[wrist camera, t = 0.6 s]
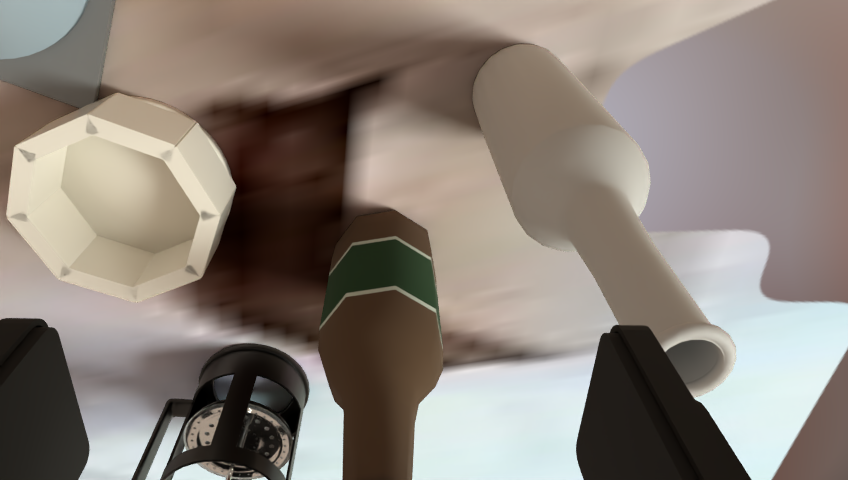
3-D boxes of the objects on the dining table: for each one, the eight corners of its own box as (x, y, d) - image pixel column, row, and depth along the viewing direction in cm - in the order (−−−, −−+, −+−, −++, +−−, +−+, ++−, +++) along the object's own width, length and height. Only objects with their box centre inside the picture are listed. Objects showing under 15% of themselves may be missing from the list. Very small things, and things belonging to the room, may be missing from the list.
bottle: (505, 24, 40) (676, 232, 16) (588, 73, 42) (858, 328, 17) (454, 112, 43) (530, 406, 18) (533, 155, 44) (700, 474, 20)
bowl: (65, 66, 40) (21, 90, 35) (253, 136, 43) (235, 166, 38) (42, 223, 46) (0, 262, 41) (210, 276, 48) (189, 318, 44)
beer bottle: (422, 300, 50) (440, 591, 29) (326, 283, 49) (274, 573, 28) (446, 216, 47) (486, 481, 26) (343, 196, 45) (299, 455, 25)
